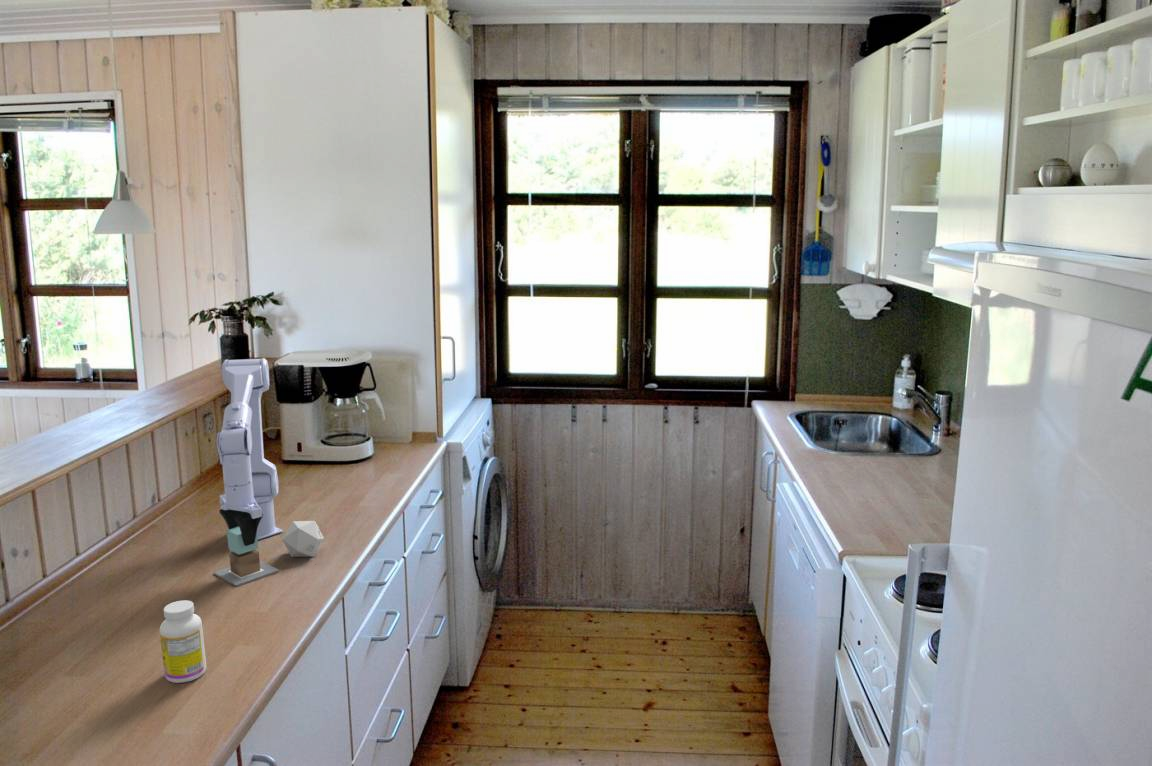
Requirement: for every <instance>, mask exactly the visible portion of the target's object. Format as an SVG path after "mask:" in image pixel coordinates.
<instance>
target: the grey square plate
mask: <svg viewBox="0 0 1152 766" xmlns="http://www.w3.org/2000/svg"><path fill="white" fill-rule="evenodd" d="M259 560H260V571H258V572H255V573H252V574H249V575H246V576H243V577H240V576H238V575H236V574H234V573H233V572H231V567H230V566H228V567H224V568H223V569H222V568H221V569H219V570H215V571H213V575H215V576H217V577H219V578H220V579H222V580H223V581H225V582H227V583H229V584H231V585H232V586H235V587H240V586H242V585H245V584H249V583H251V582H254V581H257V580H259V579H262V578H265V577H267V576H270V575H273V574H275V573H279V572H280V570H279V569H278V568H276V567H274V566H272V565H270V564H269V563H266V562H264V561H262V560H261V559H259Z"/></svg>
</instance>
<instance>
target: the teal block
mask: <svg viewBox="0 0 1152 766" xmlns="http://www.w3.org/2000/svg"><path fill="white" fill-rule="evenodd" d="M226 537H227V547H228V550H229V551H230V552H232V551H233V552H235V553H237V554H239V555H240V554H243V553H246V552H249V551H252V550H257V549H259V543H258V542H259V540H257V532H256V538H255V543H254V544H251V545H248V546H245V545H244V543H243V540H242V535H241V531H240V528H239V527H235V528H232V529H229V528H228V529H226Z"/></svg>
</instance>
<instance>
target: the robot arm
mask: <svg viewBox="0 0 1152 766" xmlns="http://www.w3.org/2000/svg"><path fill="white" fill-rule="evenodd" d="M221 365H222V366H221V376H222V382H223V384H224V385H225V387H226V388H227V390H228V391H229V392H230V403H229V404H228V405H227V406H226V407H225V408H224V412H223V413H224V414H223V418H222V425H221V427H222V428H221V431H218V432H217V436H216V448H217V453H218V457H219V463H220V465H222V476H223V485H224V493H223V494H221V495H219V503H220V509H219V512H218V513H219V514H220V515H221V517H223V519H224V522H225V524H226V525H227V528H228V530H229V529H232V528H235V527H239V528H240V531H241V535H242V540H243V543H244V545H245V546H248V545H251V544H254V543H255V538H256V532H257V540H258V541H259V540H261V539H262V540H263V539H265V538H268V537H271V536H275V535H278V534H280V533H283V531H284V530H283V529H281V528H279V527H277V526H276V520H275V518H276V517H275V508H274V507H275V506H274V505H275V504H274V498H276V497H277V495H278V494H279V477H278V470H277V467H276V465H275V464H274V463H273V462H270V460H267V459H266V458H265V454H264V453H265V451H264V436H263V423H262V422H263V421H262V418H263V417H262V405H261V400H262V395H263V393H264V392H267V391H268V390H269V389H270V370H269V369H270V368H269V367H270V366H269V362H268V360H267V359H266V358H265V357H262V358H246V359H245V358H244V359H224V361H223V362H222V364H221Z"/></svg>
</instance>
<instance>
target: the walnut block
mask: <svg viewBox="0 0 1152 766" xmlns="http://www.w3.org/2000/svg"><path fill="white" fill-rule="evenodd" d="M228 554H229V563H230V565H229V567H231V572H233V573H234V574H236V575H238V576H240V577H243V576H246V575H249V574H252V573H255V572H258V571H260V560H261V559H260V551H258V550H257V549H255V550H252V551H249V552H246V553H243V554H240V555H239V554H237V553H235V552H233V551H230V552H228Z"/></svg>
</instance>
